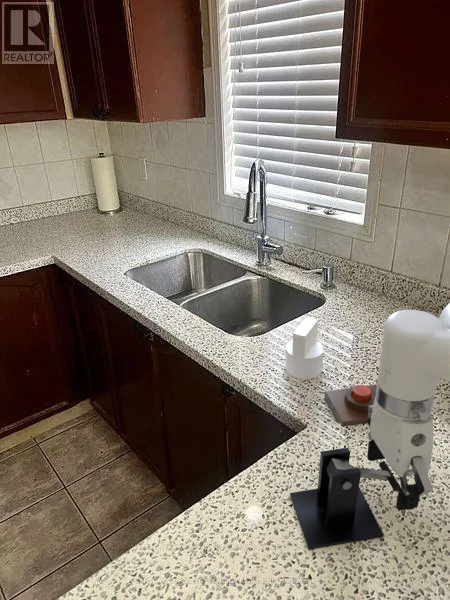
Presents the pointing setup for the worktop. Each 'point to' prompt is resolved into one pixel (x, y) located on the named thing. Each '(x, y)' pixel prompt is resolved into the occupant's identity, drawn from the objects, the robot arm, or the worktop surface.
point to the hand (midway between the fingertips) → (390, 481)
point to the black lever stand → (335, 507)
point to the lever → (366, 471)
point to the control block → (349, 406)
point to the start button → (361, 393)
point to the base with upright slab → (304, 351)
